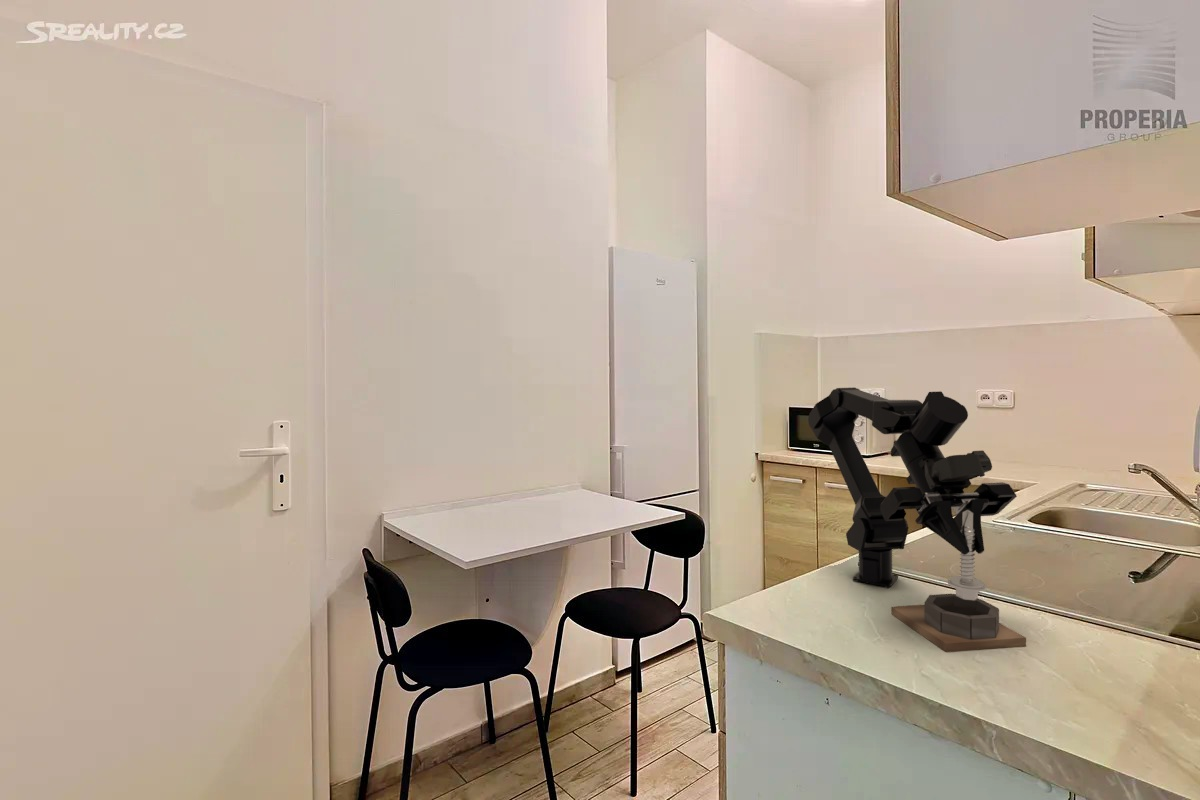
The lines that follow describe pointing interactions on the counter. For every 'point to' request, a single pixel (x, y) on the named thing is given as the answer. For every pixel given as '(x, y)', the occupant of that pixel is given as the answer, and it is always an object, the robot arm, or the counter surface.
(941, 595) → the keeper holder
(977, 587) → the screw
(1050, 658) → the counter surface
